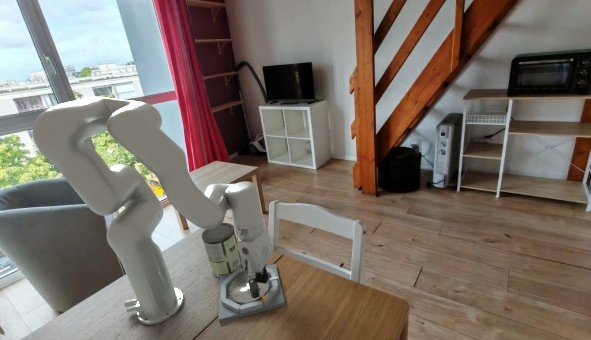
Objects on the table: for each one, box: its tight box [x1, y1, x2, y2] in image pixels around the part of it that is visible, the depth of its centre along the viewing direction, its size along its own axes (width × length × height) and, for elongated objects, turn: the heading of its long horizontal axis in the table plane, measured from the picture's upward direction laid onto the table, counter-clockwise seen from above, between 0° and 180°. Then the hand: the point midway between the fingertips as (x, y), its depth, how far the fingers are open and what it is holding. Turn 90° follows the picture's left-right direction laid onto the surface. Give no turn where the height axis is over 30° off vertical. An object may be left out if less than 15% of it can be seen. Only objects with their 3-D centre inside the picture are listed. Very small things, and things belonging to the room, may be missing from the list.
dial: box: [229, 272, 270, 305], centre depth 86 cm, size 12×12×6 cm
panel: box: [218, 263, 286, 324], centre depth 87 cm, size 18×17×3 cm
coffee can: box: [201, 222, 243, 278], centre depth 97 cm, size 10×10×14 cm
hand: (262, 280), depth 85 cm, fingers closed
